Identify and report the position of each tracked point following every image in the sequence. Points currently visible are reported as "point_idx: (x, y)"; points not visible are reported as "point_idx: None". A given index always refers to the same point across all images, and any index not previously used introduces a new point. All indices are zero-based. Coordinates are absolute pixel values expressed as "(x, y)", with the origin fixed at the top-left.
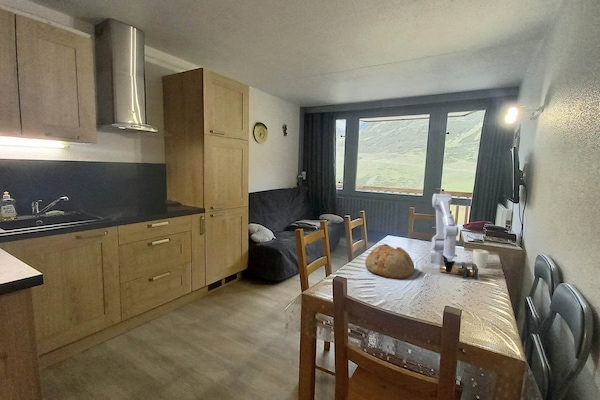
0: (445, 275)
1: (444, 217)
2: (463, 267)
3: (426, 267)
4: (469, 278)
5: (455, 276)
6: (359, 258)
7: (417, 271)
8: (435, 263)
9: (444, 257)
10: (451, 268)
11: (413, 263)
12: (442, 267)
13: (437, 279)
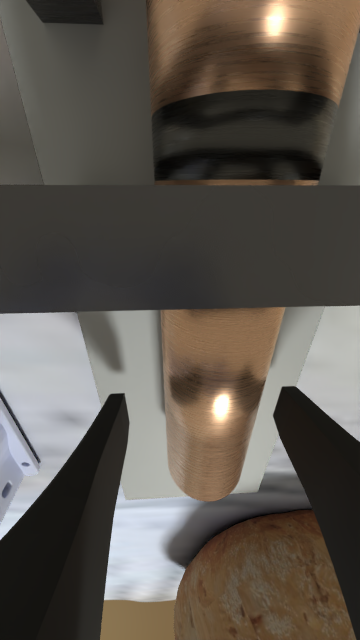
0: (279, 390)
1: None
2: None
3: (139, 483)
4: (334, 129)
5: (287, 315)
6: (156, 597)
7: (226, 496)
8: (3, 462)
9: (98, 630)
10: (351, 437)
11: (303, 602)
12: (241, 470)
13: (350, 421)
